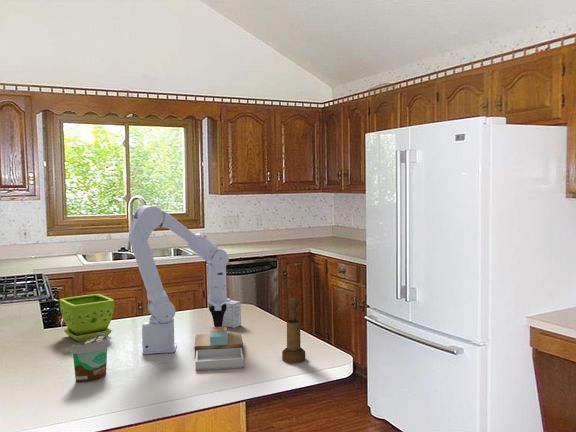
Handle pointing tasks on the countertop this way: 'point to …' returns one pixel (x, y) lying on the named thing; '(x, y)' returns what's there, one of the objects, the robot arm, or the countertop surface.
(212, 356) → the tray
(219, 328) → the terracotta tile
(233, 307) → the medicine box
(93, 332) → the flower pot
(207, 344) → the walnut board
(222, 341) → the teal tile
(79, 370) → the food container
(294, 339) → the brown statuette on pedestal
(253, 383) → the countertop surface
